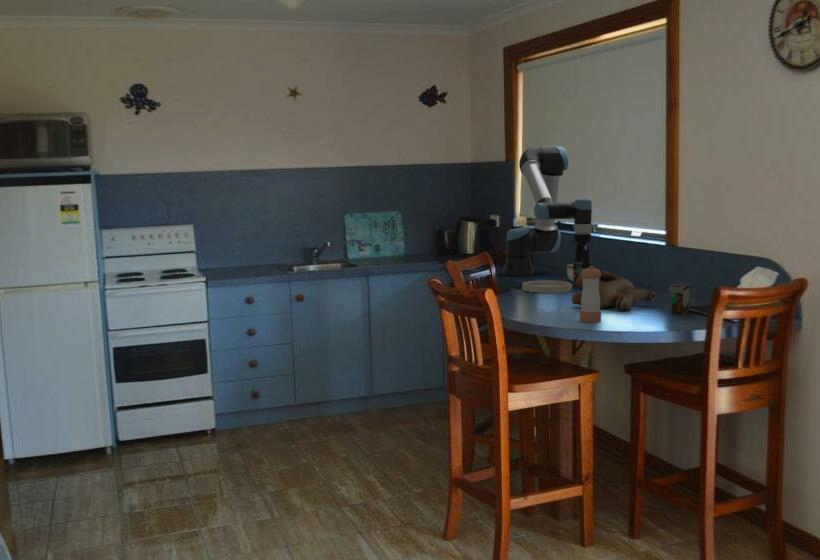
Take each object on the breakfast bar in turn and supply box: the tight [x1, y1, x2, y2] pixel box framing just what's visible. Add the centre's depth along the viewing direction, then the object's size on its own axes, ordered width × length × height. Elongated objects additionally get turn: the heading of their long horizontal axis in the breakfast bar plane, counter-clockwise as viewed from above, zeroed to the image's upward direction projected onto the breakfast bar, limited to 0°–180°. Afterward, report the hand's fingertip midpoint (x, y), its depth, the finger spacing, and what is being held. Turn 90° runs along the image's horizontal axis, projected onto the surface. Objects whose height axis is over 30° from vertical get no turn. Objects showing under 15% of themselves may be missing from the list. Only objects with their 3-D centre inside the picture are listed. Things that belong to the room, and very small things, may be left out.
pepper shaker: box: [579, 265, 602, 323], centre depth 296 cm, size 7×7×19 cm
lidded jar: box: [566, 263, 573, 283], centre depth 399 cm, size 11×11×9 cm
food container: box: [668, 283, 691, 316], centre depth 312 cm, size 12×6×10 cm, turn 150°
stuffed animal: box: [571, 270, 656, 312], centre depth 329 cm, size 13×31×25 cm
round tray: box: [521, 279, 573, 294], centre depth 374 cm, size 21×21×3 cm
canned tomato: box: [572, 261, 592, 289], centre depth 381 cm, size 8×8×11 cm
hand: (581, 280), depth 382 cm, fingers open, 13 cm apart
